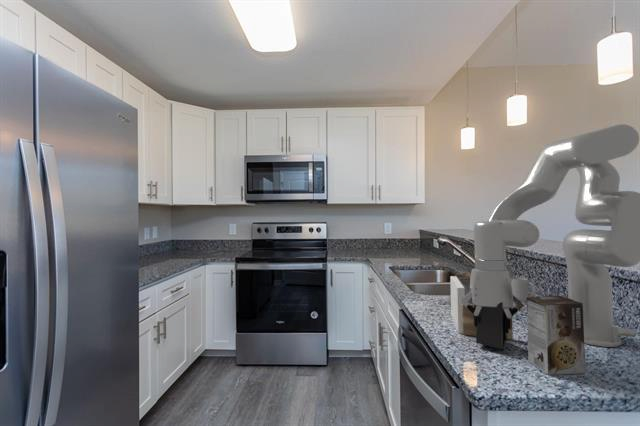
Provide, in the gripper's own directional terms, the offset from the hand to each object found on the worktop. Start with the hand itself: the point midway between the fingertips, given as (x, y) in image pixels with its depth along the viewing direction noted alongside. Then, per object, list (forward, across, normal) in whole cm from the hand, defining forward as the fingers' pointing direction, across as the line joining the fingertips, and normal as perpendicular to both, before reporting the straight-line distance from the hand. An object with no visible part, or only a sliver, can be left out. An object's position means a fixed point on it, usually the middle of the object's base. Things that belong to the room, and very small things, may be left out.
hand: (491, 329), depth 82 cm
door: (+4, 0, -5) cm, 7 cm away
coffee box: (+5, -11, +9) cm, 15 cm away
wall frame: (+4, +7, -16) cm, 18 cm away
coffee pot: (+5, -2, -30) cm, 30 cm away
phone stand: (+3, 0, 0) cm, 3 cm away
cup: (+5, -23, -53) cm, 58 cm away
